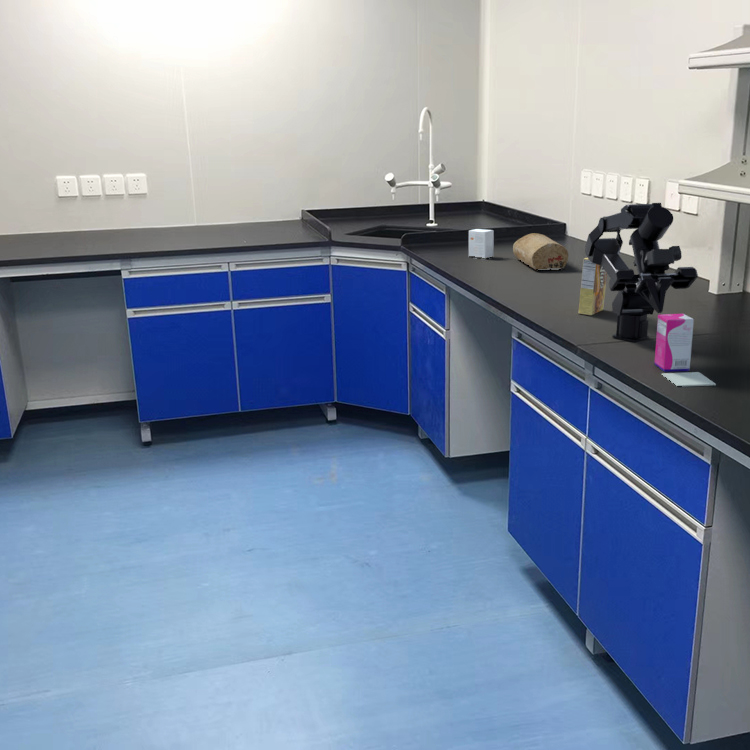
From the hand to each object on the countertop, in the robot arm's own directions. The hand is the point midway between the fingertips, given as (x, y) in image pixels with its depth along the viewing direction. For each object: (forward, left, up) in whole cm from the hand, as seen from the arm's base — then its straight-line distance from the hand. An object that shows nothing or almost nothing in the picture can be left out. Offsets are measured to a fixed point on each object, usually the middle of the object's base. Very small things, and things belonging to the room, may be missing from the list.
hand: (660, 312), depth 184 cm
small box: (-119, +70, -10) cm, 138 cm away
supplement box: (+7, -6, -10) cm, 14 cm away
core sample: (-93, +73, -11) cm, 119 cm away
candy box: (-36, +25, -10) cm, 45 cm away
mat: (+14, -11, -10) cm, 21 cm away
